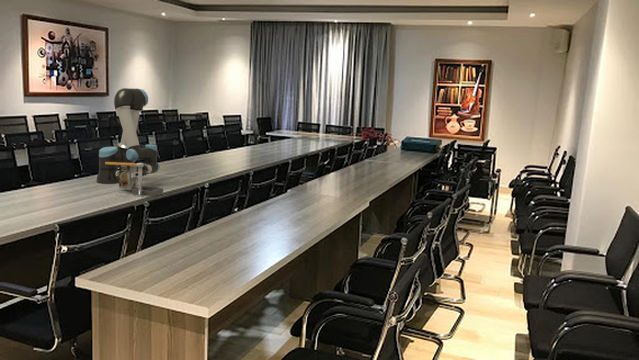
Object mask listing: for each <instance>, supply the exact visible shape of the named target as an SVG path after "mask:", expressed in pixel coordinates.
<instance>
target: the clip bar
mask: <svg viewBox="0 0 639 360" xmlns="http://www.w3.org/2000/svg"><path fill="white" fill-rule="evenodd" d="M105 164H110V165H118V166H119V165H130V166H137V167H144V164H145V162H137V163H135V162H134V163H117V162H105Z"/></svg>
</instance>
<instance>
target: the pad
mask: <svg viewBox="0 0 639 360" xmlns="http://www.w3.org/2000/svg"><path fill="white" fill-rule="evenodd" d="M119 192H120V193H121V194H132V190H126V189H121V190H120V191H119Z"/></svg>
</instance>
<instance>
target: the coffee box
mask: <svg viewBox="0 0 639 360" xmlns="http://www.w3.org/2000/svg"><path fill="white" fill-rule="evenodd" d="M122 163H128V162H122ZM118 168H119V169H118V171H119V183H118V188H119V189H121V190H132V189H135V188H138V176H137V177H133V178H131V173H134V172H137V166H130V165H118Z"/></svg>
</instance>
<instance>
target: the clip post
mask: <svg viewBox="0 0 639 360" xmlns="http://www.w3.org/2000/svg"><path fill="white" fill-rule="evenodd" d="M142 186H143V176H142V167H138V176H137V188H138V194H134V196H135V197H139V196H142V197H145V196H144V195H145V194H142Z"/></svg>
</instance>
